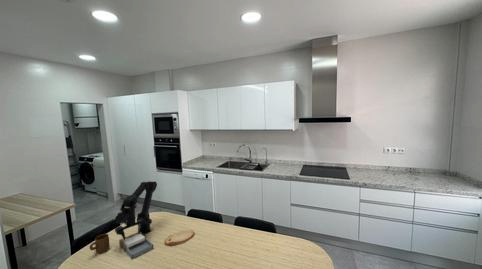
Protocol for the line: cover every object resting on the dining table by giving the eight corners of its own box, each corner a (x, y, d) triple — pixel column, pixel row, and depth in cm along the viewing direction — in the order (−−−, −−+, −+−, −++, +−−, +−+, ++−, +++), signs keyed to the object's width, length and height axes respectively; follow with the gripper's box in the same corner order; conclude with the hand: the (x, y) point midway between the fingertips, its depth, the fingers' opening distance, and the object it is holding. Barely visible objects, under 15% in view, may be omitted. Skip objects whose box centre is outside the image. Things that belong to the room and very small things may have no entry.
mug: (95, 259, 122) (94, 245, 121) (86, 257, 124) (85, 243, 123) (112, 247, 133) (111, 234, 133) (103, 245, 135) (102, 232, 135)
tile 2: (142, 237, 139) (142, 235, 138) (145, 240, 136) (144, 237, 136) (125, 245, 131) (125, 242, 130) (127, 247, 128) (127, 244, 128)
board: (140, 235, 147) (140, 231, 147) (146, 241, 139) (146, 237, 139) (119, 243, 137) (119, 239, 137) (125, 251, 129) (124, 247, 129)
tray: (146, 241, 139) (146, 237, 139) (153, 248, 131) (153, 244, 131) (125, 251, 129) (125, 247, 129) (131, 259, 121) (131, 255, 121)
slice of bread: (196, 232, 150) (196, 227, 149) (187, 247, 132) (186, 242, 131) (174, 231, 152) (174, 226, 152) (162, 246, 134) (161, 241, 134)
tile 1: (140, 235, 141) (140, 233, 141) (142, 237, 138) (142, 235, 138) (123, 242, 133) (123, 240, 133) (125, 245, 131) (125, 242, 130)
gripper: (140, 208, 149) (141, 227, 150) (111, 217, 135) (113, 238, 136) (145, 212, 141) (147, 233, 142) (116, 222, 128) (118, 245, 129)
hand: (131, 237), depth 138 cm, fingers open, 9 cm apart
